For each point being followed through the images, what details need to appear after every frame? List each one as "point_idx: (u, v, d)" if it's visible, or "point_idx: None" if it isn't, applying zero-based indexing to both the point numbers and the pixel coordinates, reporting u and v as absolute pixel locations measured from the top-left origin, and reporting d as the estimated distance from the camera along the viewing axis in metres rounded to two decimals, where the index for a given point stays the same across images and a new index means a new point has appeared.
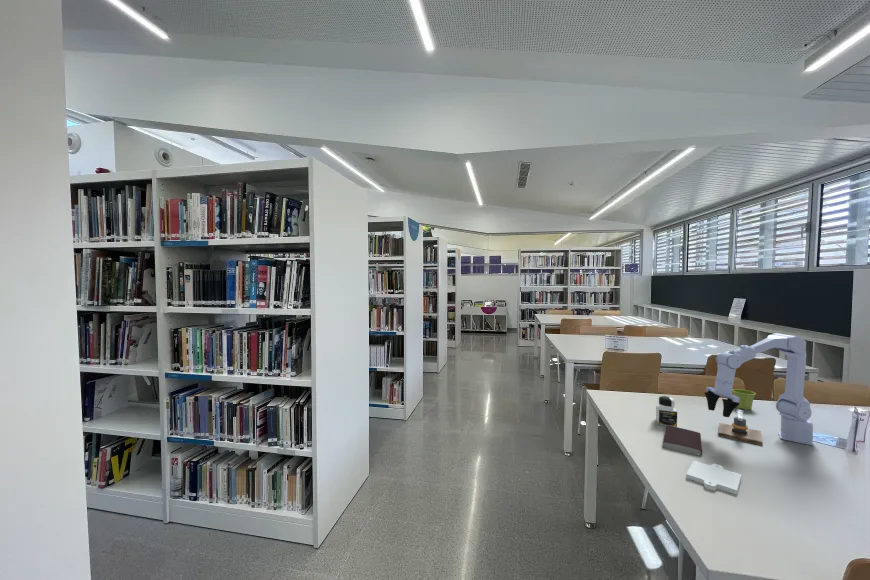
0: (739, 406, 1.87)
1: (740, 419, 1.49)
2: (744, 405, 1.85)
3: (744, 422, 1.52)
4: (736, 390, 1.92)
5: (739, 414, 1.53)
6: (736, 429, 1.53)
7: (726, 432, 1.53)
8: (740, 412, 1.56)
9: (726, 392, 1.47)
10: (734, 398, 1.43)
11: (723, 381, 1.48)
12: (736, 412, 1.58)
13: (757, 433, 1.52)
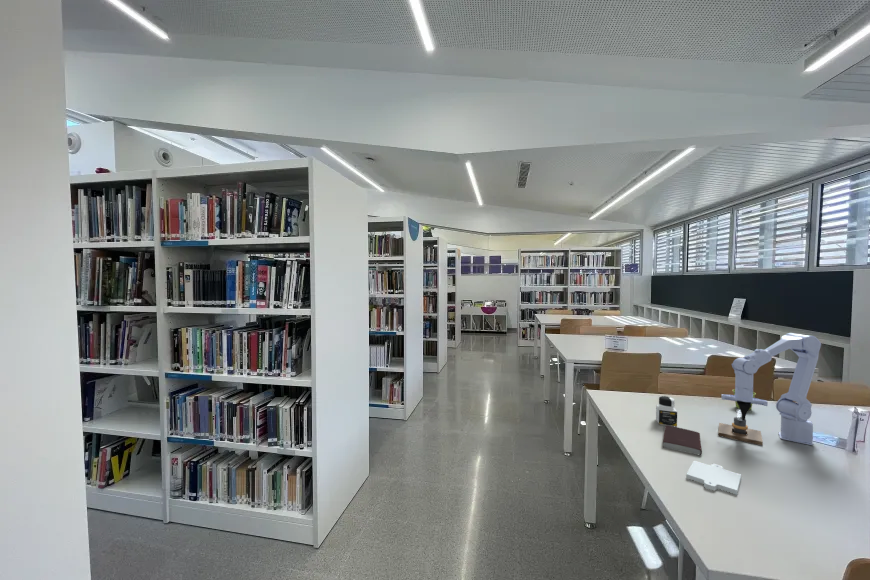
0: None
1: (739, 419, 1.49)
2: None
3: (744, 422, 1.52)
4: None
5: (739, 414, 1.53)
6: (736, 429, 1.53)
7: (726, 432, 1.53)
8: (740, 412, 1.56)
9: (752, 398, 1.48)
10: (766, 403, 1.46)
11: (743, 388, 1.48)
12: (736, 412, 1.58)
13: (757, 433, 1.52)
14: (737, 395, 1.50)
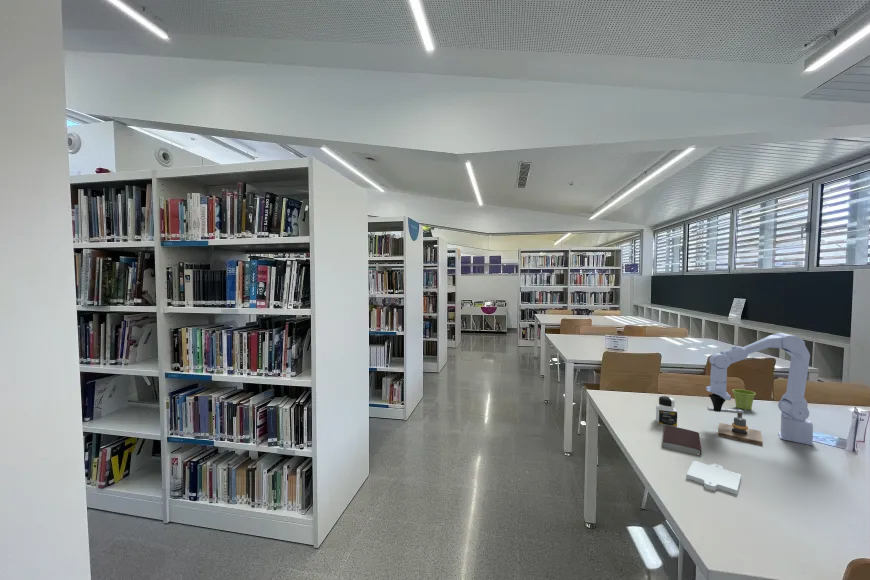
0: (739, 406, 1.87)
1: (708, 408, 1.61)
2: (744, 405, 1.85)
3: (744, 422, 1.52)
4: (736, 390, 1.92)
5: None
6: (736, 429, 1.53)
7: (726, 432, 1.53)
8: (732, 410, 1.59)
9: (720, 391, 1.57)
10: (725, 397, 1.52)
11: (714, 381, 1.58)
12: None
13: (757, 433, 1.52)
14: None
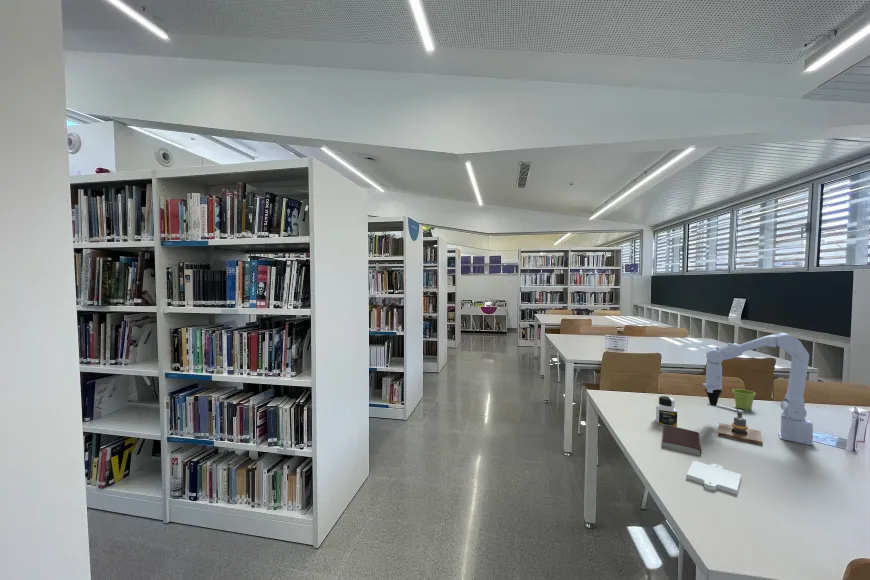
0: (739, 406, 1.87)
1: None
2: (744, 405, 1.85)
3: (744, 422, 1.52)
4: (736, 390, 1.92)
5: (722, 406, 1.64)
6: (736, 429, 1.53)
7: (726, 432, 1.53)
8: (731, 408, 1.60)
9: (710, 385, 1.64)
10: (707, 389, 1.61)
11: (708, 375, 1.65)
12: None
13: (757, 433, 1.52)
14: None
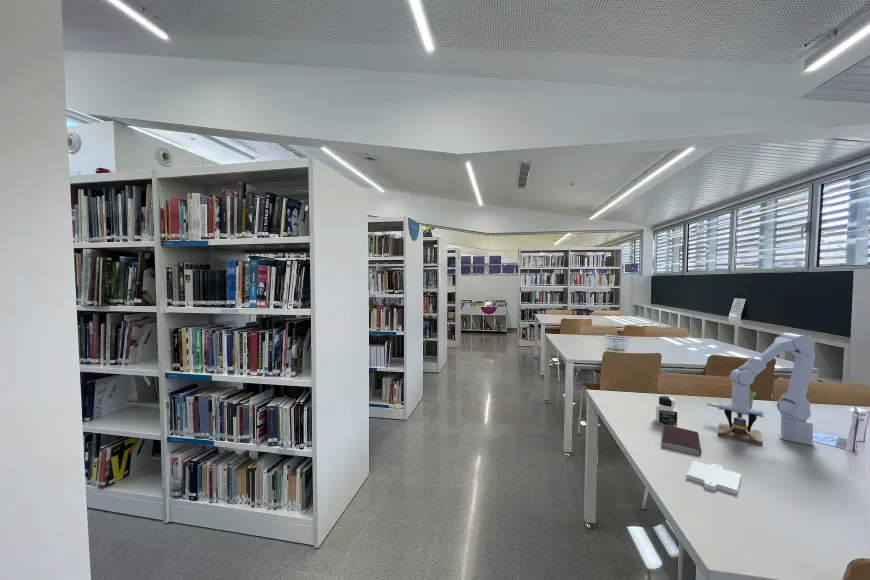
0: None
1: None
2: None
3: (744, 422, 1.52)
4: None
5: None
6: (736, 429, 1.53)
7: (726, 432, 1.53)
8: None
9: (748, 409, 1.51)
10: (762, 414, 1.48)
11: (738, 398, 1.52)
12: None
13: (757, 433, 1.52)
14: (733, 405, 1.53)
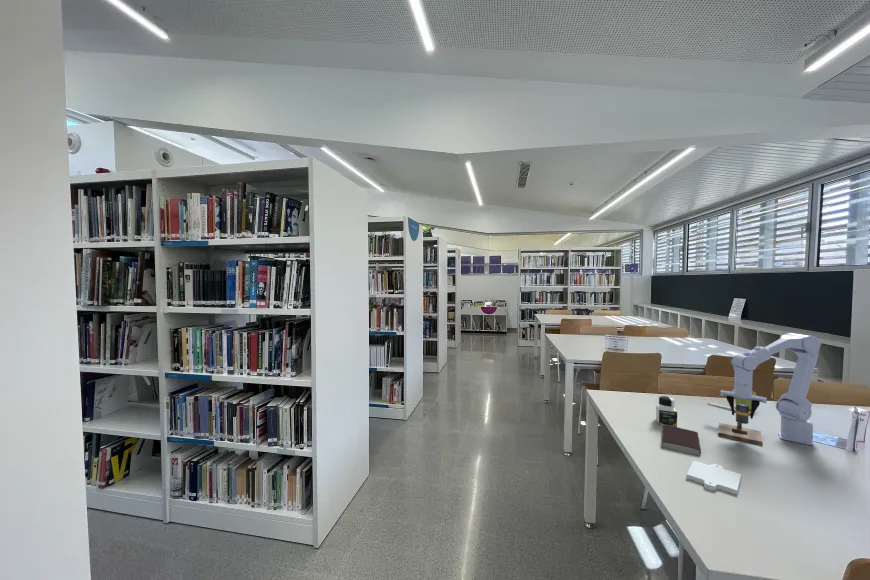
0: None
1: None
2: None
3: (747, 408, 1.48)
4: None
5: (722, 406, 1.64)
6: (738, 415, 1.49)
7: (726, 432, 1.53)
8: None
9: (751, 395, 1.47)
10: (765, 400, 1.44)
11: (742, 384, 1.48)
12: None
13: (757, 433, 1.52)
14: (735, 391, 1.50)
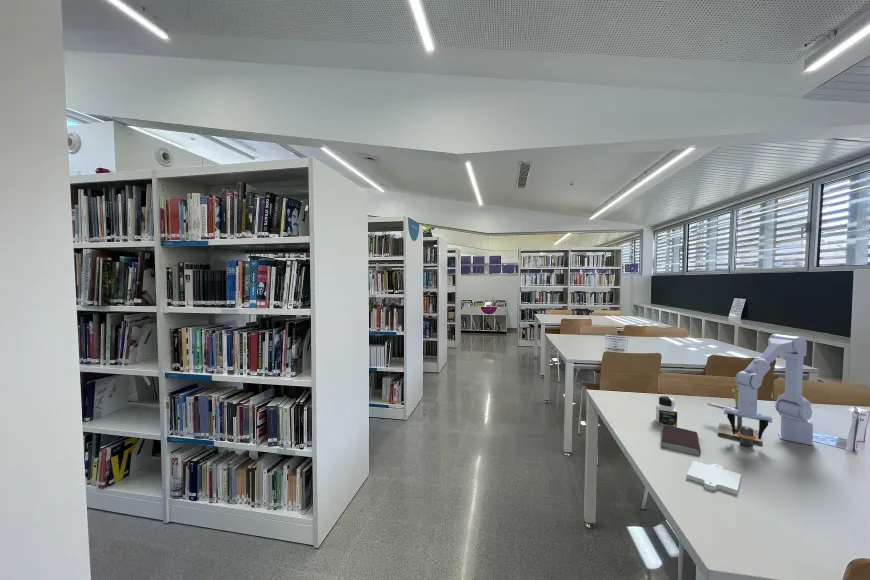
0: None
1: None
2: None
3: (751, 431, 1.42)
4: (736, 390, 1.92)
5: (722, 406, 1.64)
6: (743, 439, 1.43)
7: (726, 432, 1.53)
8: (731, 408, 1.60)
9: (756, 413, 1.41)
10: (771, 419, 1.38)
11: (749, 403, 1.41)
12: None
13: (757, 433, 1.52)
14: (740, 410, 1.44)
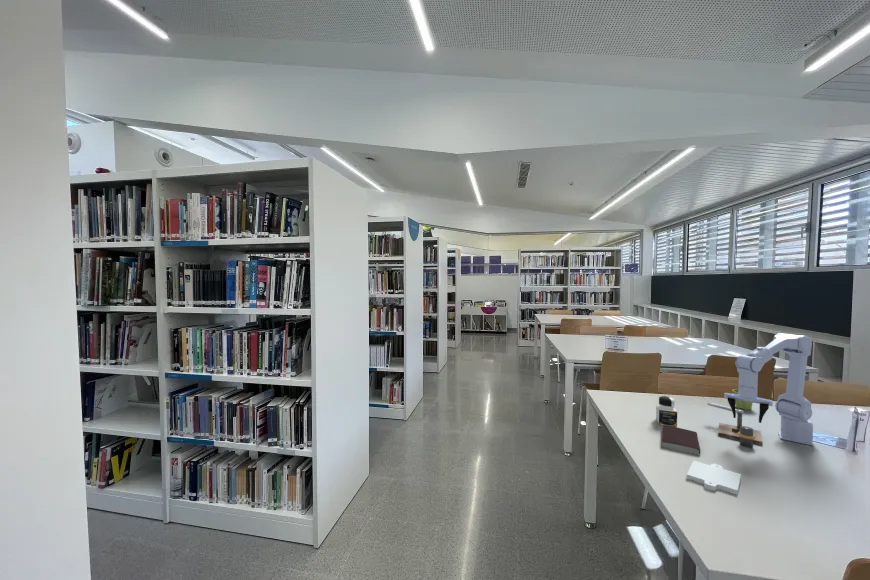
0: (739, 406, 1.87)
1: None
2: (744, 405, 1.85)
3: (751, 431, 1.42)
4: (736, 390, 1.92)
5: (722, 406, 1.64)
6: (743, 439, 1.43)
7: (726, 432, 1.53)
8: None
9: (756, 397, 1.41)
10: (771, 402, 1.38)
11: (749, 387, 1.41)
12: None
13: (757, 433, 1.52)
14: (740, 394, 1.44)
